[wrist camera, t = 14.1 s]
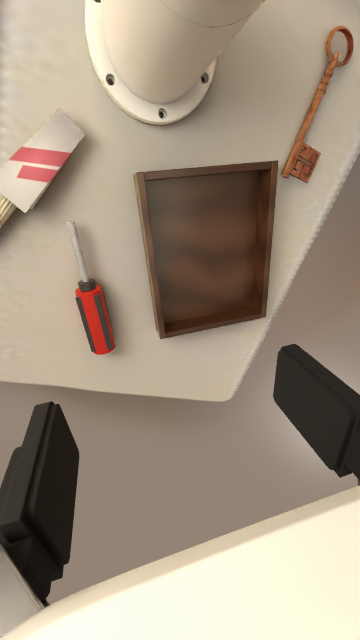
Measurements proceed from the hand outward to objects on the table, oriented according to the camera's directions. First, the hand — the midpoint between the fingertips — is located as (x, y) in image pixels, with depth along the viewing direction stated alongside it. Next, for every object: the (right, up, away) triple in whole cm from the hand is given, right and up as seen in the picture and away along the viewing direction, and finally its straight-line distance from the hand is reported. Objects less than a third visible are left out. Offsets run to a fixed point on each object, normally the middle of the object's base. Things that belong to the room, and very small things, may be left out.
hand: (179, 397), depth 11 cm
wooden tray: (+4, +13, +25) cm, 28 cm away
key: (+17, +29, +21) cm, 39 cm away
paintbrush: (-18, +16, +17) cm, 30 cm away
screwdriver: (-12, +7, +23) cm, 27 cm away
